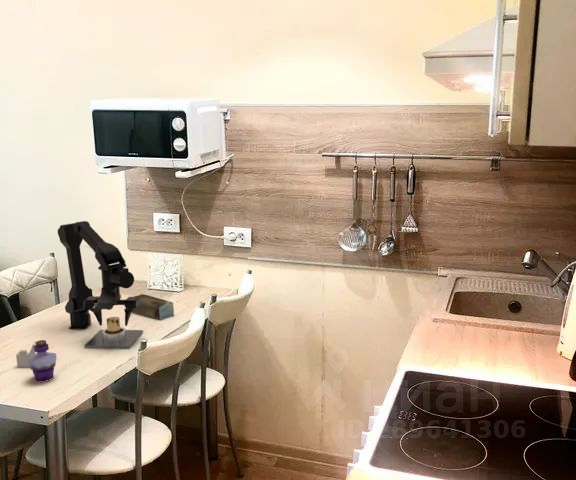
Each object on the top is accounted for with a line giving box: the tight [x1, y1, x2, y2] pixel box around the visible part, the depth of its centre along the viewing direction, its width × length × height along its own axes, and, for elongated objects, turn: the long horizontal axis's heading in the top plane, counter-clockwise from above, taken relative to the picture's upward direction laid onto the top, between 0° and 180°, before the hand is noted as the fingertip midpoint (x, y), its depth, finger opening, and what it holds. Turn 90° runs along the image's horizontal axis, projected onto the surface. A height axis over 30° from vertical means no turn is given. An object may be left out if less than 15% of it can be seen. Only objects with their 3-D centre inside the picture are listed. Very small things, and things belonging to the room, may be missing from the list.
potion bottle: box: [28, 339, 57, 382], centre depth 191 cm, size 9×9×12 cm
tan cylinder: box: [106, 316, 121, 334], centre depth 223 cm, size 4×4×7 cm
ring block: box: [83, 326, 144, 350], centre depth 224 cm, size 16×16×4 cm
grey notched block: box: [15, 341, 37, 368], centre depth 201 cm, size 7×2×8 cm, turn 90°
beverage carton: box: [131, 293, 175, 321], centre depth 252 cm, size 8×19×7 cm, turn 53°
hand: (113, 325), depth 223 cm, fingers open, 9 cm apart
